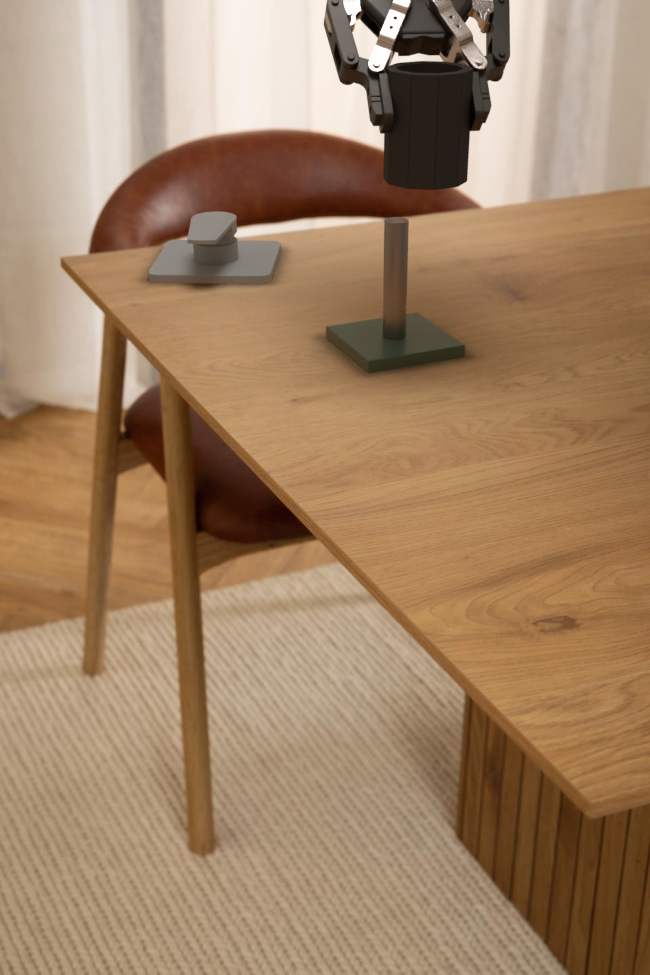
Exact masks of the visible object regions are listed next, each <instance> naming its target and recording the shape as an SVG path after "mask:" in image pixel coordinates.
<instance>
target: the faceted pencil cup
mask: <svg viewBox="0 0 650 975" xmlns="http://www.w3.org/2000/svg"><path fill="white" fill-rule="evenodd" d="M386 73H388V80H389V87H390V91H391V97H392V105H393V112H394V121H393V125H392V129H391V133H384V134H383V135H384V136H383V171H382V172H383V173H382V175H383V176H382V177H383V180H384V181H385V183H387V185H389V186H393V187H398V188H402V189H405V190H422V191H424V190H425V191H433V190H434V191H438V190H446V189H454V188H459V187H461V186H462V185H463V184H465V183H467V182H468V175H469V174H468V173H469V156H470V138H471V137H470V135H471V131H470V117H471V98H472V83H473V68H471V67H470V66H468V65H465V64H459V63H452V62H444V61H437V60H436V61H435V60H433V61H432V60H417V61H406V62H405V61H404V62H403V61H402V62H396V63H393V64H390V66H387V67H386Z"/></svg>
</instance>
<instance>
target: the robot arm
mask: <svg viewBox="0 0 650 975" xmlns="http://www.w3.org/2000/svg"><path fill="white" fill-rule="evenodd" d="M510 9H511V8H510V0H352V1H345V2H344V0H326V5H325V11H324V18H323V28H324V31H325V34H326V37H327V41H328V45H329V49H330V52H331V55H332V60H333V63H334V66H335V70H336V73H337V77H338V80H339V82H340V83H341V84H342V85H345V86H350V85H352V84H357V85H360V86H361V87H363V89H364V90H365V92H366V93H365V94H366V100H367V109H368V114H369V115H368V118H369V122H370V123H371V125H372V126H373V127H378V129H379V133H380V135H381V134H382V135H384V133H391V129H392V125H393V121H394V112H393V105H392V97H391V91H390V87H389V80H388V73H386V67H387V66H390V65H392V64H391V63H392V61H393V59H394V57H395V54H397V56H398V57H410V56H414V55H417V54H421V55H425V56H439V57H440V58H441V60H442V62H452V63H459V64H465V65H468V66H470V67H471V68H473V83H472V98H471V117H470V132H480V131H481V129H482V126H483V124H486V123H487V120H488V117H489V115H490V112H491V110H492V100H491V94H490V88H489V83H488V82H489V81H491V82H496V83H497V82H499V81H501V80H502V79H503V76H504V73H505V69H506V66H507V63H508V62H509V60H510V57H511V18H510V17H511V16H510V15H511V14H510ZM470 18H472V19H474V20H475V21H476V23H477V26H478V28H479V29H480V30H479V31H480V33H481V34H485V55H484V54H483V52H482V51H481V49H480V48H479V47H478V46H477V44H476V42H475V41H474V35H473V32H472V31H471V29H470V28H469V26H468V25H467V24H466V23H467V21H468V20H469V19H470ZM358 20H360V21H361V23H362V24H363V25H364V26H365V27H366V28H367V29H368V30H369V31H370V32H371V33H372V34H373V35H374V36H375V37H376V38H377V40H376V43H375V46H374V48H373V51H372V53H371V55H370V57H369V58H365V57H362V56H360V54H359V51H358V48H357V44H356V41H355V37H354V34H353V32H354V31H355V28H356V22H357V21H358Z"/></svg>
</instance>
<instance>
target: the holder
mask: <svg viewBox="0 0 650 975" xmlns="http://www.w3.org/2000/svg"><path fill="white" fill-rule="evenodd" d="M383 222H384V225H383V231H384V232H383V278H382V279H383V281H382V285H383V286H382V287H383V288H382V291H383V292H382V295H383V296H382V317H379V318H372V319H366V320H359V321H352V322H346V323H340V324H333V325H332V324H331V325H326V326H325V339H327V341H329V343H331V344H333V346H335V347H336V348H337V349H338V350H339V351H341V352H342V353H343V354H344V355H345V356H347V357H348V358H349V359H350V360H351V361H353V362H354V363H355V364H356V365H357V366H359V367H360V368H361V369H362V370H364V371H365V372H366V373H367V374H373V373H379V372H384V371H391V370H396V369H402V368H409V367H415V366H419V365H426V364H431V363H438V362H443V361H448V360H449V361H450V360H454V359H455V360H456V359H462V358H465V357H466V344H464V343H463V342H461V341H460V340H459V339H457V338H455V337H454V336H453V335H451V334H450V333H448V332H447V331H445V330H444V329H442V328H441V327H440V326H438V325H437V324H435V323H433V322H432V321H430V320H429V319H428V318H426V317H425V316H423V315H421V313H419V312H411V313H407V305H408V304H407V302H408V301H407V300H408V264H409V263H408V262H409V228H410V227H409V226H410V223H409V222H410V221H409V219H408V218H406V217H402V216H391V217H386V218H385V219H384V220H383Z"/></svg>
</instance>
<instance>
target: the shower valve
mask: <svg viewBox="0 0 650 975" xmlns="http://www.w3.org/2000/svg"><path fill="white" fill-rule="evenodd" d="M237 222H238V220H237V215H236V214H234V213H232V212H228V211H219V210H217V211H206V212H199V213H196V214H194V215H192V216H191V218H190V223H189V228H188V233H187V239H172V240H169V241H167V242H166V244H165V245H164V247H163V248H162V249H161V251H160V253H159V255H158V256H157V257H156V259H155V261H154V262H153V263H152V265H151V266H150V268H149V270H148V271H147V272H148V281H149V282H151V283H155V284H208V285H209V284H210V285H212V284H213V285H217V284H218V285H219V284H220V285H267V284H269V283H271V282H272V279H273V276H274V274H275V271H276V269H277V268H276V267H277V265H278V262H279V259H280V257H281V254H282V243H281V242H280V241H277V240H240V239H239V240H238V238H237V237H236V236H235V235H236V234H237V232H238V223H237Z"/></svg>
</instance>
